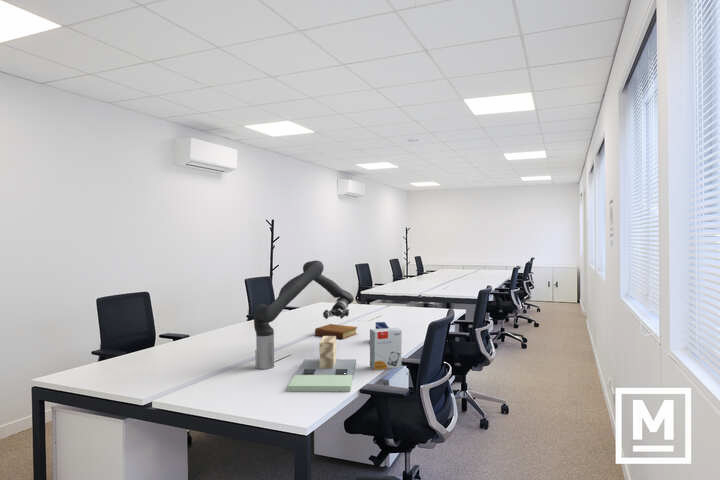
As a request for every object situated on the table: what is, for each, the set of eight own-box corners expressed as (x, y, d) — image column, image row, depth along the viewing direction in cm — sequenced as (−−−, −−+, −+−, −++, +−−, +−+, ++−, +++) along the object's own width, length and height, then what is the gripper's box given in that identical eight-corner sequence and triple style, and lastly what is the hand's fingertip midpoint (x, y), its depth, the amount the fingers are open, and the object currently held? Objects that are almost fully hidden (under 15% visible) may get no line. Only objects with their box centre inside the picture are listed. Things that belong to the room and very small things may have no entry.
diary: (315, 336, 319) (314, 328, 319) (330, 331, 335) (330, 324, 335) (342, 340, 307) (342, 331, 307) (357, 334, 323) (357, 326, 323)
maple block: (319, 368, 233) (319, 342, 232) (323, 360, 247) (323, 335, 247) (333, 368, 232) (333, 342, 232) (336, 360, 247) (336, 335, 247)
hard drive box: (373, 370, 236) (373, 331, 235) (369, 366, 243) (369, 329, 243) (402, 367, 240) (401, 329, 240) (397, 364, 247) (396, 327, 247)
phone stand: (394, 344, 292) (394, 325, 292) (376, 344, 292) (375, 325, 292) (393, 339, 304) (393, 321, 304) (375, 340, 304) (375, 322, 304)
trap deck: (288, 391, 206) (288, 385, 206) (304, 363, 250) (304, 359, 249) (350, 391, 204) (350, 386, 204) (356, 363, 248) (356, 359, 248)
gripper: (327, 302, 271) (320, 311, 256) (350, 301, 269) (345, 310, 253) (328, 314, 272) (321, 324, 257) (352, 314, 270) (346, 323, 254)
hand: (333, 317), depth 255 cm, fingers open, 8 cm apart
